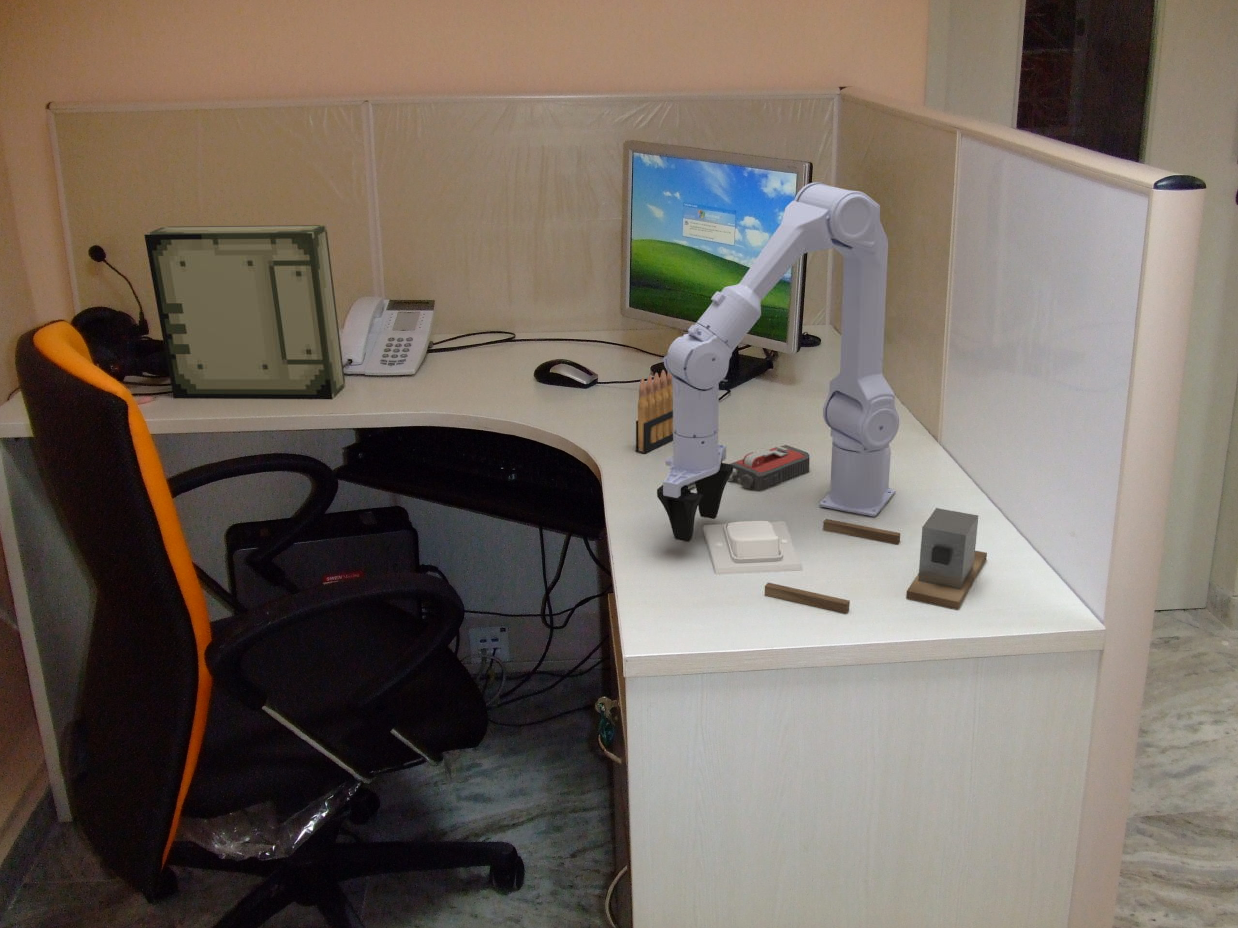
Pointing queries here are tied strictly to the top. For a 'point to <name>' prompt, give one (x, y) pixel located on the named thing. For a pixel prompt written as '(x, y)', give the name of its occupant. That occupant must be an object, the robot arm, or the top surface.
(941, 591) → the mounting board
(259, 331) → the control panel
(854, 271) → the robot arm
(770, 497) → the top surface
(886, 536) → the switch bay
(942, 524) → the junction box
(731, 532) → the light switch
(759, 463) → the walkie-talkie
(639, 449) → the ammunition clip
